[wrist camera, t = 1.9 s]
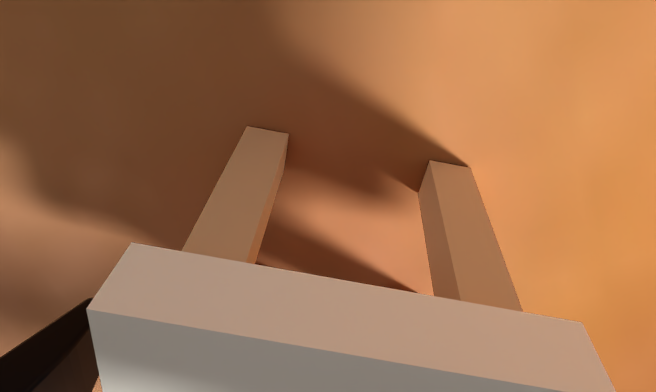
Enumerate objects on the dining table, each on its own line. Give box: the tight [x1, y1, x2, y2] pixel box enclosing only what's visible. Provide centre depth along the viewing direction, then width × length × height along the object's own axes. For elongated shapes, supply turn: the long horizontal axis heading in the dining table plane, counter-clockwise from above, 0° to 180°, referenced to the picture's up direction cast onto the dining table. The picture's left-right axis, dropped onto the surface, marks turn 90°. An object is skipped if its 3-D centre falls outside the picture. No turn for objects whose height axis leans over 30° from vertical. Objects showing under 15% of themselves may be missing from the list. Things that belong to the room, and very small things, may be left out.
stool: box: [86, 126, 616, 392], centre depth 10 cm, size 6×6×6 cm
